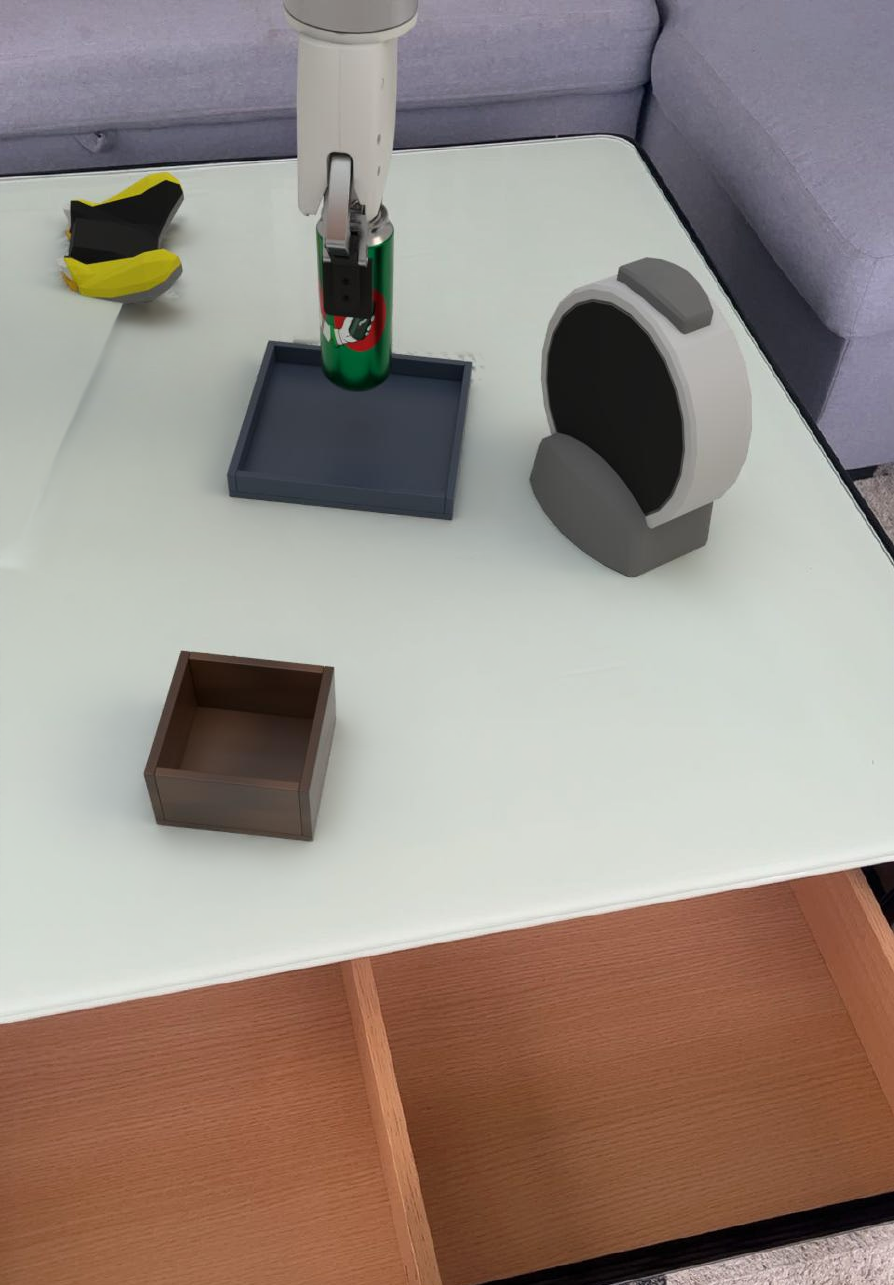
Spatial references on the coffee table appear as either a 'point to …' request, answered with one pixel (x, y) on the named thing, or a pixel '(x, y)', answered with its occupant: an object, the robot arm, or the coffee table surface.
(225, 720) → the dark wooden box
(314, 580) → the coffee table surface
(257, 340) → the coffee table surface
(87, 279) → the gaming controller
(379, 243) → the soda can
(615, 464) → the alarm clock
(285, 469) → the tray
